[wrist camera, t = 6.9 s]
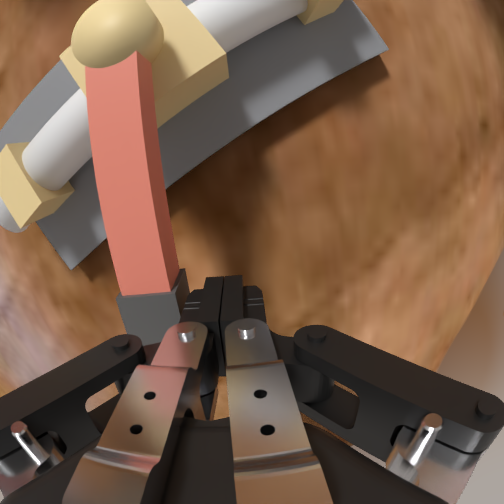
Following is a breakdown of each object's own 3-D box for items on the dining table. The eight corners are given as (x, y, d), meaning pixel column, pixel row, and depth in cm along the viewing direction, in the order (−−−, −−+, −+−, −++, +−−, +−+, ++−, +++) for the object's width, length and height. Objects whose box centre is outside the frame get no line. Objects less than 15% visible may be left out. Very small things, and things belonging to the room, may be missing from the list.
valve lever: (94, 25, 9) (70, 7, 7) (163, 5, 9) (149, -19, 7) (152, 362, 15) (142, 393, 13) (212, 359, 15) (209, 392, 13)
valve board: (278, -62, 13) (292, -120, 6) (379, 54, 17) (436, 24, 10) (2, 143, 17) (-62, 152, 10) (79, 262, 20) (28, 308, 14)
